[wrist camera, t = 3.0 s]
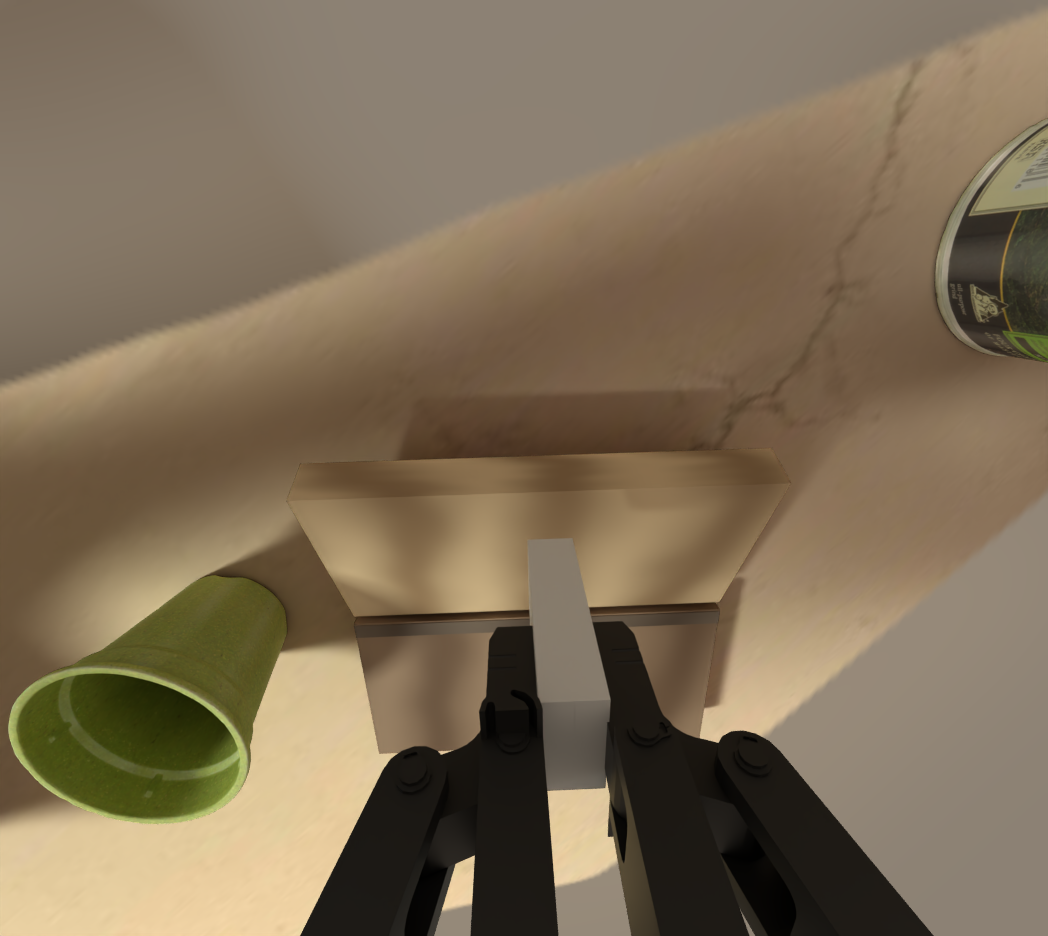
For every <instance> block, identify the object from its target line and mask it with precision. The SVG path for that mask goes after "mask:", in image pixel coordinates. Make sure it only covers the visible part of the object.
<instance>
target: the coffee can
mask: <svg viewBox="0 0 1048 936" xmlns="http://www.w3.org/2000/svg"><path fill="white" fill-rule="evenodd" d="M935 290H936V298H937V304H938V307H939V311H940V313H941V315H942V317H943V319H944V321H945V323H946V324H947V326H948V327H949V329H950V330H951V332H952V333H953V334H954V335H955V336H956V337H957V338H958V339H959V340H961V341H962V342H963V343H965V344H966V345H968V346H969V347H971V348H973V349H975V350H978V351H980V352H982V353H985V354H990V355H995V356H1010V357H1018V358H1024V359H1030V360H1036V361H1042V362H1047V363H1048V118H1047V119H1045V120H1043V121H1041V122H1039V123H1037V124H1036V125H1033V126H1031V127H1029V128H1028V129H1027V130H1025V131H1024V132H1023V133H1021V134H1020V135H1018V136H1017V137H1016V138H1015V139H1013V140H1012V141H1011V142H1009V143H1008V144H1007V145H1006V146H1004V147H1003V148H1002V149H1001V150H1000V151H999V152H998V153H997V154H996V155H995V156H993V157H992V158H991V159H990V160H989V162H988V163H987V164H986V165H985V166H984V167H983V168H982V169H981V170H980V171H979V173H978V174H977V175H976V176H975V178H974V179H973V180H972V182H971V183H970V184H969V186H968V187H967V188H966V190H965V191H964V193H963V195H962V196H961V198H960V200H959V201H958V203H957V205H956V207H955V208H954V210H953V212H952V213H951V215H950V217H949V220H948V223H947V227H946V229H945V232H944V234H943V237H942V239H941V242H940V246H939V250H938V254H937V259H936V267H935Z"/></svg>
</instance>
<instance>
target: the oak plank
mask: <svg viewBox="0 0 1048 936" xmlns="http://www.w3.org/2000/svg"><path fill="white" fill-rule="evenodd" d="M790 484H791V482H790V480H789V479H788V477H787V475H786V473H785V471H784V469H783V468H782V466H781V464H780V462H779V460H778V458H777V457H776V455H775V453H774V451H773V449H772V448H757V449H727V450H697V451H667V452H637V453H607V454H577V455H547V456H517V457H487V458H457V459H427V460H397V461H367V462H337V463H307V464H300V466H299V469H298V472H297V474H296V477H295V480H294V482H293V485H292V488H291V490H290V493H289V496H288V498H287V503H288V504H289V506H290V508H291V509H292V511H293V513H294V515H295V516H296V518H297V520H298V521H299V523H300V525H301V527H302V528H303V530H304V532H305V533H306V535H307V537H308V539H309V540H310V542H311V544H312V545H313V547H314V549H315V551H316V552H317V554H318V556H319V557H320V559H321V561H322V563H323V564H324V566H325V568H326V569H327V571H328V573H329V575H330V576H331V578H332V580H333V581H334V583H335V585H336V587H337V588H338V590H339V592H340V593H341V595H342V597H343V599H344V600H345V602H346V604H347V605H348V607H349V609H350V611H351V612H352V614H353V616H354V617H358V616H383V615H408V614H433V613H458V612H483V611H508V610H529V582H528V540H534V539H562V538H572V539H573V543H574V547H575V551H576V555H577V560H578V564H579V568H580V572H581V577H582V581H583V585H584V589H585V594H586V598H587V602H588V606H589V607H608V606H633V605H658V604H683V603H708V602H720V600H721V598H722V597H723V595H724V593H725V592H726V590H727V588H728V587H729V585H730V583H731V582H732V580H733V578H734V577H735V575H736V573H737V572H738V570H739V569H740V567H741V565H742V564H743V562H744V560H745V559H746V557H747V555H748V554H749V552H750V550H751V549H752V547H753V545H754V544H755V542H756V540H757V539H758V537H759V535H760V534H761V532H762V531H763V529H764V527H765V526H766V524H767V522H768V521H769V519H770V517H771V516H772V514H773V512H774V511H775V509H776V507H777V506H778V504H779V502H780V501H781V499H782V497H783V496H784V494H785V492H786V491H787V489H788V488H789V486H790Z"/></svg>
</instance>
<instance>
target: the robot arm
mask: <svg viewBox="0 0 1048 936" xmlns="http://www.w3.org/2000/svg"><path fill="white" fill-rule="evenodd" d="M528 582H529V613H530V626H511V627H497V628H496V630H495V631H494V633H493V635H492V636H491V638H490V640H489V650H488V671H487V688H486V697H485V699H484V700H483V701H482V703H481V707H480V710H479V718H480V732H479V733H478V734H477V736H476V737H475V738H474V739H473V740H472V741H470V742H469V743H468V744H467V745H465V746H463V747H461V748H459V749H456V750H453V751H451V752H448V753H445V754H442V755H441V754H440V753H439V752H438V751H437V750H435V749H432V748H430V747H427V746H413V747H411V748H408V749H405V750H402V751H401V752H399V753H398V754H397V755H395V756H394V757H393V758H391V760H390V761H389V762H388V764H387V765H386V766H385V768H384V769H383V771H382V773H381V775H380V777H379V779H378V781H377V783H376V785H375V787H374V789H373V791H372V793H371V795H370V797H369V799H368V801H367V803H366V805H365V807H364V809H363V811H362V813H361V815H360V817H359V819H358V821H357V823H356V825H355V827H354V829H353V831H352V833H351V835H350V837H349V839H348V841H347V843H346V845H345V847H344V849H343V851H342V853H341V855H340V857H339V859H338V861H337V863H336V865H335V867H334V869H333V871H332V873H331V875H330V877H329V879H328V881H327V883H326V885H325V887H324V889H323V891H322V893H321V895H320V897H319V899H318V901H317V903H316V905H315V907H314V909H313V911H312V913H311V915H310V917H309V919H308V921H307V923H306V925H305V927H304V929H303V931H302V933H301V935H300V936H434V934H435V931H436V927H437V924H438V921H439V917H440V914H441V911H442V907H443V904H444V901H445V897H446V894H447V891H448V887H449V884H450V881H451V877H452V874H453V871H454V867H455V864H456V863H458V862H460V861H463V860H465V859H467V858H470V857H472V856H474V855H475V864H474V882H473V900H472V920H471V936H558V924H557V912H556V899H555V885H554V872H553V859H552V846H551V833H550V820H549V807H548V794H547V791H552V790H574V789H596V788H605V786H606V778H607V783H608V788H609V793H610V804H609V819H608V837H614V842H615V848H616V853H617V859H618V864H619V870H620V875H621V881H622V886H623V892H624V897H625V902H626V908H627V914H628V919H629V924H630V930H631V936H749V933H748V931H747V928H746V925H745V923H744V919H743V917H742V914H741V911H742V913H743V915H744V916H745V918H746V920H747V922H748V924H749V925H750V927H751V929H752V931H753V933H754V934H755V936H933V935H932V933H931V932H930V931H929V930H928V929H927V927H926V926H925V925H924V924H923V923H922V921H921V920H920V919H919V918H918V916H917V915H916V914H915V913H914V912H913V910H912V909H911V908H910V907H909V906H908V905H907V903H906V902H905V901H904V900H903V898H902V897H901V896H900V895H899V894H898V892H897V891H896V890H895V889H894V888H893V886H892V885H891V884H890V883H889V882H888V880H887V879H886V878H885V877H884V876H883V874H882V873H881V872H880V871H879V870H878V868H877V867H876V866H875V865H874V864H873V862H872V861H871V860H870V859H869V858H868V857H867V855H866V854H865V853H864V852H863V850H862V849H861V848H860V847H859V846H858V844H857V843H856V842H855V841H854V840H853V838H852V837H851V836H850V835H849V834H848V832H847V831H846V830H845V829H844V827H843V826H842V825H841V824H840V823H839V821H838V820H837V819H836V818H835V817H834V816H833V814H832V813H831V812H830V811H829V810H828V808H827V807H826V806H825V805H824V804H823V802H822V801H821V800H820V799H819V797H818V796H817V795H816V794H815V793H814V791H813V790H812V789H811V788H810V787H809V785H808V784H807V783H806V782H805V781H804V779H803V778H802V777H801V776H800V775H799V773H798V772H797V771H796V770H795V769H794V767H793V766H792V765H791V764H790V763H789V761H788V760H787V759H786V758H785V757H784V756H783V754H782V753H781V752H780V751H779V750H778V749H777V748H776V747H775V746H774V745H773V744H772V743H771V742H770V741H768V740H766V739H765V738H763V737H761V736H759V735H757V734H755V733H751V732H747V731H731V732H729V733H728V734H726V735H724V736H722V738H721V740H720V742H719V743H716V742H712V741H708V740H704V739H700V738H696V737H693V736H690V735H688V734H685V733H683V732H682V731H680V730H678V729H677V728H675V727H674V726H673V725H672V724H671V722H670V721H669V720H668V719H667V718H666V717H665V716H664V715H663V713H662V711H661V709H660V707H659V704H658V701H657V699H656V696H655V693H654V690H653V687H652V684H651V681H650V678H649V675H648V672H647V669H646V667H645V664H644V663H643V658H642V655H641V652H640V651H639V646H638V643H637V640H636V637H635V635H634V633H633V632H632V631H631V630H630V629H629V628H628V626H627V625H626V624H625V623H624V622H623V621H610V622H592V619H591V615H590V610H589V606H588V602H587V598H586V594H585V589H584V585H583V581H582V577H581V572H580V568H579V564H578V560H577V555H576V551H575V547H574V543H573V539H572V538H562V539H534V540H528ZM740 910H741V911H740Z"/></svg>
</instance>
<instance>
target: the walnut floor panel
mask: <svg viewBox="0 0 1048 936" xmlns="http://www.w3.org/2000/svg"><path fill="white" fill-rule="evenodd" d="M589 610H590V615H591V619H592V622H610V621H623V622H624V623H625V624H626V625H627V626H628V628H629V629H630V630H631V631H632V632H633V633H634V635H635V637H636V640H637V643H638V646H639V651H640V652H641V655H642V658H643V663H644V664H645V667H646V669H647V672H648V675H649V678H650V681H651V684H652V687H653V690H654V693H655V696H656V699H657V701H658V704H659V707H660V709H661V711H662V713H663V715H664V716H665V717H666V718H667V719H668V720H669V721H670V722H671V724H672V725H673V726H674V727H675V728H677V729H678V730H680V731H682V732H683V733H685V734H688V735H690V736H693V737H696V738H699V737H700V731H701V724H702V718H703V712H704V705H705V699H706V693H707V687H708V680H709V674H710V668H711V661H712V655H713V649H714V643H715V636H716V630H717V624H718V620H719V614H720V609H719V607H718V606H717V604H716V603H715V602H708V603H683V604H658V605H633V606H608V607H589ZM511 626H530V613H529V610H508V611H483V612H458V613H433V614H408V615H383V616H358V617H357V619H356V621H355V623H354V628H355V633H356V638H357V642H358V647H359V652H360V657H361V662H362V667H363V673H364V678H365V683H366V688H367V693H368V698H369V703H370V708H371V714H372V719H373V724H374V729H375V734H376V739H377V744H378V750H379V754H383V753H399V752H401V751H402V750H405V749H408V748H411V747H413V746H427V747H430V748H432V749H435V750H437V751H448V750H456V749H459V748H461V747H463V746H465V745H467V744H468V743H469V742H470V741H472V740H473V739H474V738H475V737H476V736H477V734H478V733H479V732H480V718H479V710H480V707H481V703H482V701H483V700H484V699H485V697H486V688H487V671H488V650H489V640H490V638H491V636H492V635H493V633H494V631H495V630H496V628H497V627H511Z"/></svg>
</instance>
